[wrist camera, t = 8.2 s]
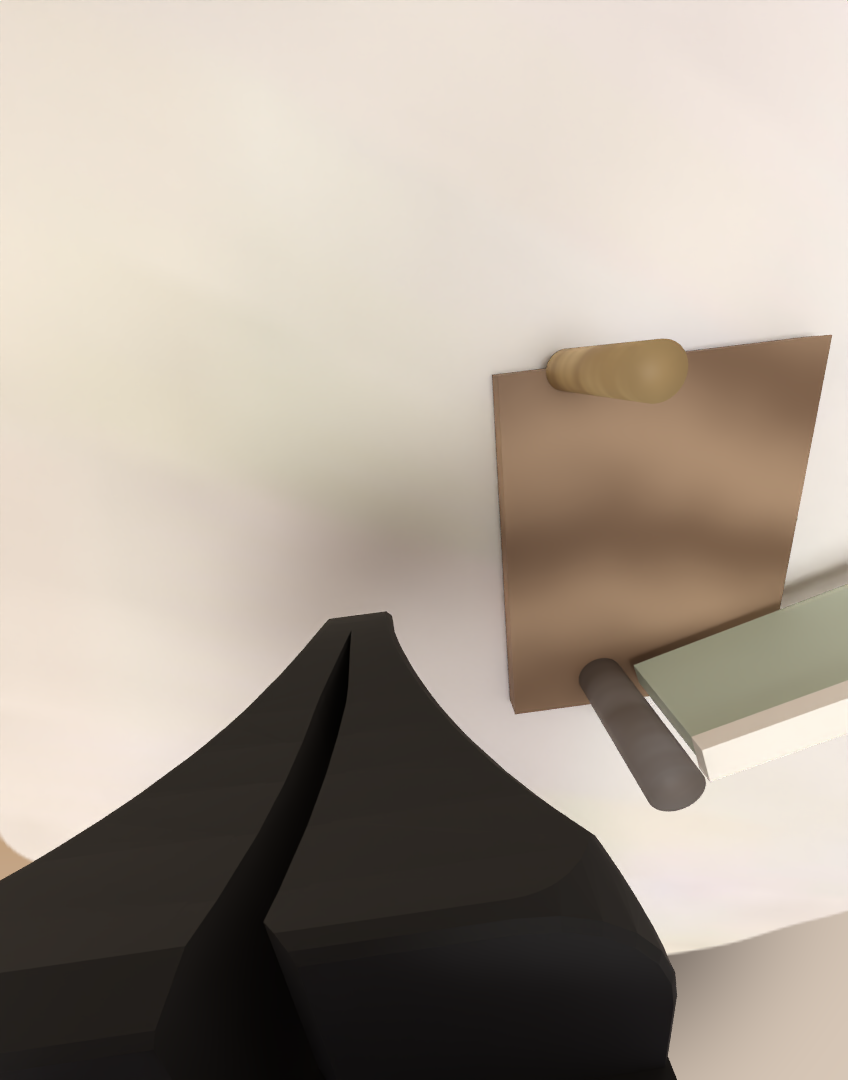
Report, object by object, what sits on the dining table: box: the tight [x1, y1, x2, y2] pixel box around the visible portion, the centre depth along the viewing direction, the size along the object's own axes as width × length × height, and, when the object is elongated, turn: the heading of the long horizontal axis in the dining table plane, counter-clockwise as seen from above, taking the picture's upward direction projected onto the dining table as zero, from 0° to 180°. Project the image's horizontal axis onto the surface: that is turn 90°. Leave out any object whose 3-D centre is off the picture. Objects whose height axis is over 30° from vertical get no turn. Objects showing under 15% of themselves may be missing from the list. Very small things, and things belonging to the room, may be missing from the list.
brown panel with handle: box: [492, 335, 832, 811], centre depth 16 cm, size 16×12×7 cm
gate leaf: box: [634, 584, 848, 782], centre depth 17 cm, size 11×2×5 cm, turn 113°
